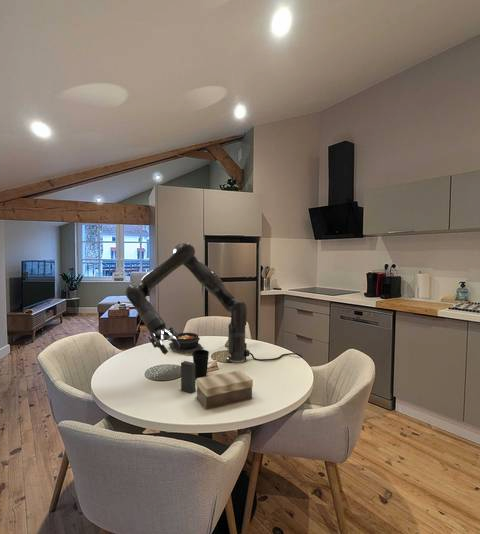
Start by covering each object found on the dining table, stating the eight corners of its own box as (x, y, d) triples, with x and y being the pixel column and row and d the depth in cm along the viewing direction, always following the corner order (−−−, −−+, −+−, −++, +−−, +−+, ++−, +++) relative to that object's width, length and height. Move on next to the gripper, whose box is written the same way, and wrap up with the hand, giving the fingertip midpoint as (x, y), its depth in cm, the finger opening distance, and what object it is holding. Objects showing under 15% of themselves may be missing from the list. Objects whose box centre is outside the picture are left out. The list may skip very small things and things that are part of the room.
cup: (211, 375, 150) (211, 350, 150) (205, 381, 143) (205, 355, 142) (196, 373, 153) (196, 348, 152) (189, 379, 145) (189, 353, 145)
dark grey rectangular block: (185, 387, 137) (185, 360, 136) (196, 390, 134) (196, 362, 133) (180, 390, 134) (180, 362, 133) (191, 393, 131) (191, 365, 130)
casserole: (210, 350, 186) (210, 337, 186) (184, 358, 174) (184, 343, 174) (186, 341, 205) (186, 329, 204) (161, 347, 192) (161, 334, 192)
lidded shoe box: (239, 388, 136) (239, 370, 136) (252, 399, 126) (252, 379, 126) (196, 397, 127) (196, 378, 127) (206, 409, 117) (206, 389, 117)
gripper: (146, 319, 134) (166, 349, 129) (168, 313, 147) (187, 341, 142) (137, 329, 137) (157, 360, 132) (159, 323, 150) (178, 351, 145)
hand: (172, 350), depth 137 cm, fingers open, 8 cm apart
